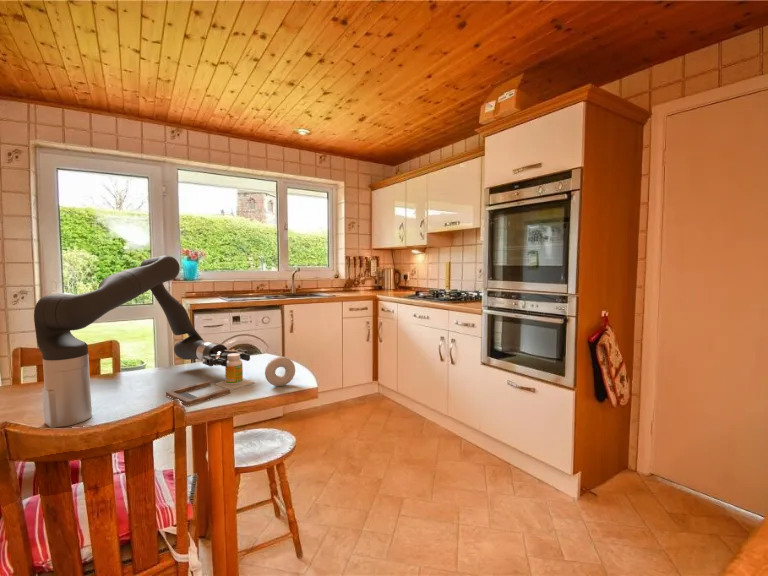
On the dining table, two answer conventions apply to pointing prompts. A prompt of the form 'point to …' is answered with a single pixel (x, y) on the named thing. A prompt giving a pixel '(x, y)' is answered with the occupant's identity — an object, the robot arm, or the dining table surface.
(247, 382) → the pad
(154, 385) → the dining table surface
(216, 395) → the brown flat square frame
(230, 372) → the supplement bottle
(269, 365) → the donut
